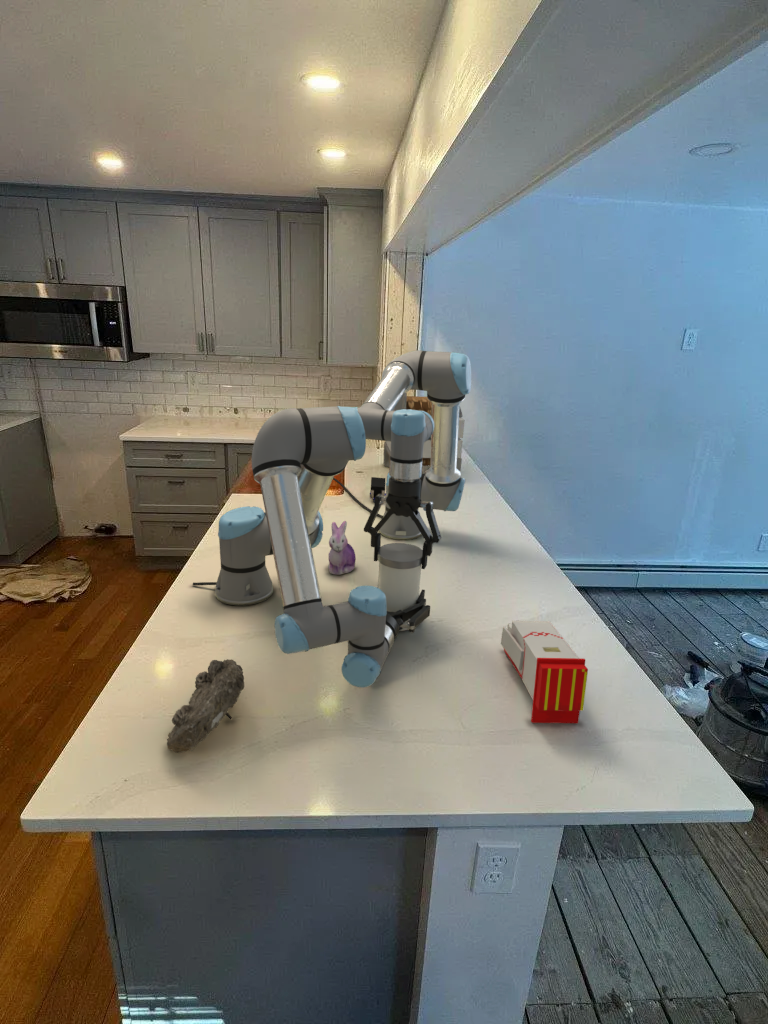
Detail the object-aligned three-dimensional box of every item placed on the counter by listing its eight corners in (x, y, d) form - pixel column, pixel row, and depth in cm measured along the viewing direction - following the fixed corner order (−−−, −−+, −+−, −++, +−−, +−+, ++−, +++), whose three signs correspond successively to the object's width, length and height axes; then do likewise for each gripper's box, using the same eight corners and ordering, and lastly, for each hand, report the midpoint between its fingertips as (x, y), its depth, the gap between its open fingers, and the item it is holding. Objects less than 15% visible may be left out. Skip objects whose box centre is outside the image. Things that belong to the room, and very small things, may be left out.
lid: (368, 555, 140) (368, 548, 139) (405, 546, 146) (405, 539, 146) (395, 573, 131) (395, 565, 131) (433, 562, 138) (433, 555, 137)
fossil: (192, 660, 117) (244, 628, 112) (224, 691, 120) (276, 661, 115) (142, 746, 98) (202, 712, 93) (182, 779, 101) (242, 748, 96)
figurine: (333, 578, 165) (334, 530, 160) (320, 564, 173) (320, 518, 168) (362, 573, 169) (364, 526, 164) (348, 559, 177) (349, 514, 172)
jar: (368, 616, 146) (371, 550, 139) (401, 606, 151) (405, 542, 145) (392, 635, 138) (396, 566, 132) (425, 623, 143) (430, 556, 137)
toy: (547, 606, 135) (596, 665, 106) (541, 658, 138) (589, 729, 108) (496, 604, 134) (532, 664, 105) (492, 657, 137) (526, 729, 108)
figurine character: (385, 507, 229) (385, 492, 243) (386, 490, 226) (386, 476, 239) (369, 507, 229) (369, 491, 242) (369, 490, 226) (370, 475, 239)
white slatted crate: (382, 463, 289) (386, 382, 275) (445, 464, 293) (451, 384, 279) (390, 482, 257) (394, 392, 243) (460, 483, 261) (468, 394, 247)
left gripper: (330, 640, 130) (359, 596, 150) (428, 659, 125) (444, 611, 145) (330, 611, 128) (360, 570, 148) (430, 629, 122) (447, 584, 142)
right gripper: (458, 479, 132) (450, 564, 140) (362, 467, 138) (359, 549, 146) (452, 488, 125) (444, 577, 133) (351, 475, 131) (349, 561, 139)
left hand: (402, 590), depth 146 cm, fingers closed on jar, 10 cm apart
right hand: (400, 563), depth 139 cm, fingers closed on lid, 11 cm apart
